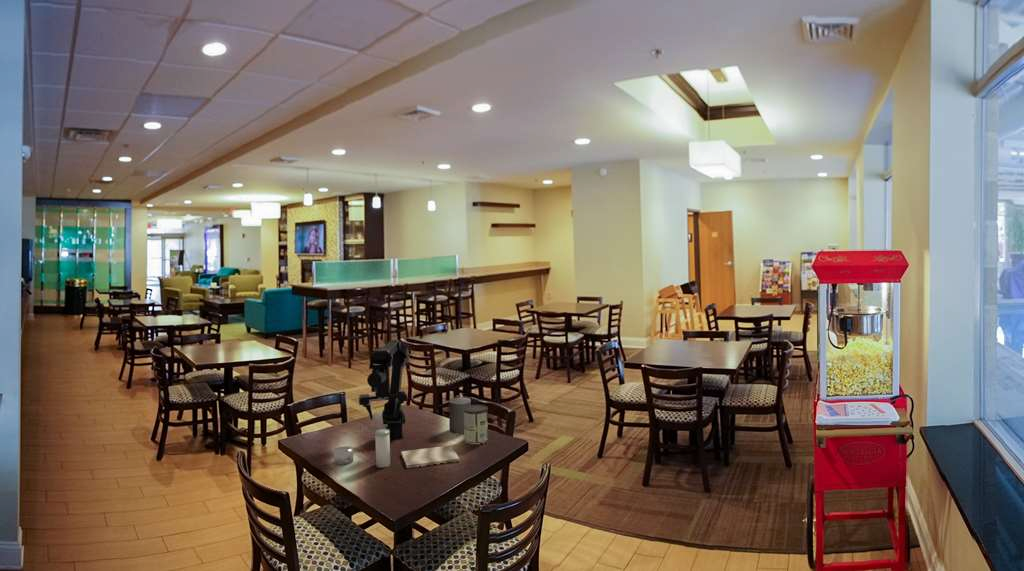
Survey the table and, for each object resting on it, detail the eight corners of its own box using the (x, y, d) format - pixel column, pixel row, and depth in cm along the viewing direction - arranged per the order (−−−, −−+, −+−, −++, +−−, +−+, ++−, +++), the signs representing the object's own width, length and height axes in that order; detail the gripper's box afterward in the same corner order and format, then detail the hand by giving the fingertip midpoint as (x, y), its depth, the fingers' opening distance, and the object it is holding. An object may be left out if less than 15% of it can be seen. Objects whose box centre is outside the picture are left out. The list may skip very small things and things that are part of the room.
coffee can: (471, 435, 249) (470, 403, 248) (492, 438, 245) (491, 406, 244) (459, 442, 240) (458, 409, 239) (480, 446, 236) (480, 412, 235)
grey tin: (352, 457, 224) (352, 445, 224) (353, 464, 218) (353, 451, 217) (334, 460, 222) (333, 447, 222) (334, 466, 215) (334, 453, 215)
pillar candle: (445, 429, 257) (444, 397, 256) (463, 425, 263) (463, 393, 261) (456, 435, 249) (456, 402, 248) (475, 430, 255) (475, 398, 254)
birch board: (450, 448, 234) (450, 445, 234) (459, 461, 219) (459, 458, 219) (401, 454, 227) (401, 451, 227) (406, 468, 213) (406, 465, 213)
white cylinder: (389, 461, 220) (388, 428, 219) (391, 466, 215) (390, 432, 214) (375, 463, 218) (374, 429, 217) (376, 468, 213) (375, 434, 212)
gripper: (404, 374, 241) (405, 410, 242) (358, 377, 235) (359, 415, 237) (406, 381, 230) (407, 418, 231) (358, 384, 225) (359, 423, 226)
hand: (383, 418), depth 232 cm, fingers open, 9 cm apart
